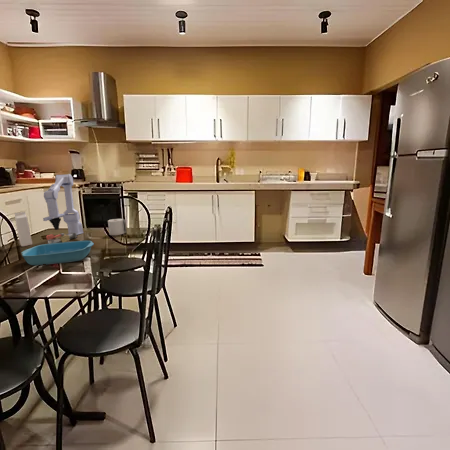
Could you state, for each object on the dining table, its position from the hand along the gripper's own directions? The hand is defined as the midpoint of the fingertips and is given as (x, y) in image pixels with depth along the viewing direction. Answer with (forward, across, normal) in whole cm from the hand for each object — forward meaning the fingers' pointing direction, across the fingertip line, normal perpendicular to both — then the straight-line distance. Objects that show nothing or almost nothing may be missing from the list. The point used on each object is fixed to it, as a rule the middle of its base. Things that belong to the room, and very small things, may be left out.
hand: (56, 229), depth 205 cm
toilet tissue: (+10, -33, +20) cm, 40 cm away
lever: (+6, -1, -3) cm, 6 cm away
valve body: (+10, -5, -3) cm, 12 cm away
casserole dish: (+10, +22, +30) cm, 38 cm away
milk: (+10, +8, -22) cm, 25 cm away
